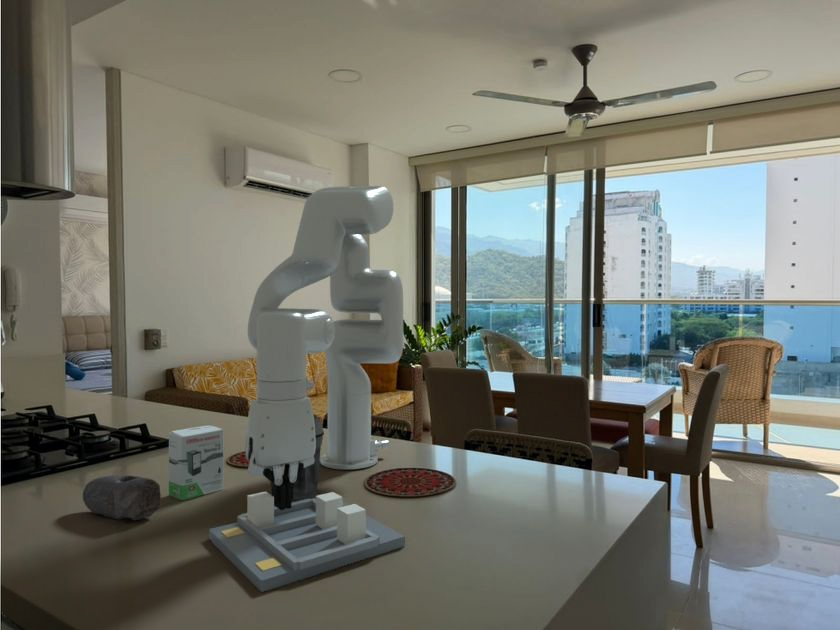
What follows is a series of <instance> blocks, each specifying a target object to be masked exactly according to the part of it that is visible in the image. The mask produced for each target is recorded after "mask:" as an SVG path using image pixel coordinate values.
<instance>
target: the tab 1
mask: <svg viewBox="0 0 840 630" xmlns="http://www.w3.org/2000/svg"><path fill="white" fill-rule="evenodd" d="M246 497H247V499H246V501H247V505H246V507H247V508H246V509H247V512H246V513H247V519H248V520H250V521H251V522H252V523H253V524H254V525H256V526H257V527H261V526H265V525H269V524H273V523H274V507H275V506H274V497H273V496H272V495H271V494H270V493H269V492H267V491H262V492H258V493H253V494H248V495H246Z"/></svg>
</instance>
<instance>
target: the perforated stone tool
mask: <svg viewBox="0 0 840 630" xmlns="http://www.w3.org/2000/svg"><path fill="white" fill-rule="evenodd" d="M82 500H83V502H84V505H85V506H86V508H87V509H88V510H89V511H91V512H92V513H94V514H96V515H103V516H104V517H106V518H109V519H113V520H115V519H116V520H119V521H120V520H123V519H128V518H129V519H131V520H132V521H140V520H142V519H144V518H147V517H148V518H149V517H151V516H152V515H153V514H154V513H156V512H157V511H158V509H159V508H160V506H161V502H162V499H161V486H160V484H159V483H158V482H157V481H156V480H154V479H151V478H148V477H141V476H138V475H137V476H135V475H120V474H119V475H118V474H117V475H105V476H100V477H97V478H94V479H92V480H90V481H89V482H87V484H86V485H85V487H84V489H83V491H82Z"/></svg>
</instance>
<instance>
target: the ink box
mask: <svg viewBox="0 0 840 630" xmlns="http://www.w3.org/2000/svg"><path fill="white" fill-rule="evenodd" d="M168 433H169V434H168V496H170V497H172V498H175V499H177V500H180V501H186V500H190V499H194V498H197V497H201V496H205V495H208V494H211V493H212V494H213V493H216V492H219V491H222V490H224V429H223V428H221V427H218V426H214V425H202V426H201V425H200V426H195V427H188V428H184V429H176V430H172V431H171V432H168Z"/></svg>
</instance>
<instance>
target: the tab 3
mask: <svg viewBox="0 0 840 630" xmlns="http://www.w3.org/2000/svg"><path fill="white" fill-rule="evenodd" d="M347 505H348V506H344V507H340V508H337V539H338V540H339V541H341V542H342V543H344V544H348V543H352V542H355V541H359V540H362V539H365V538H366V515H367V513H366V512H367V509H365V508H363V507H362V506H360V505H358V504H356V503H353V504H350V505H349V504H347Z"/></svg>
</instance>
